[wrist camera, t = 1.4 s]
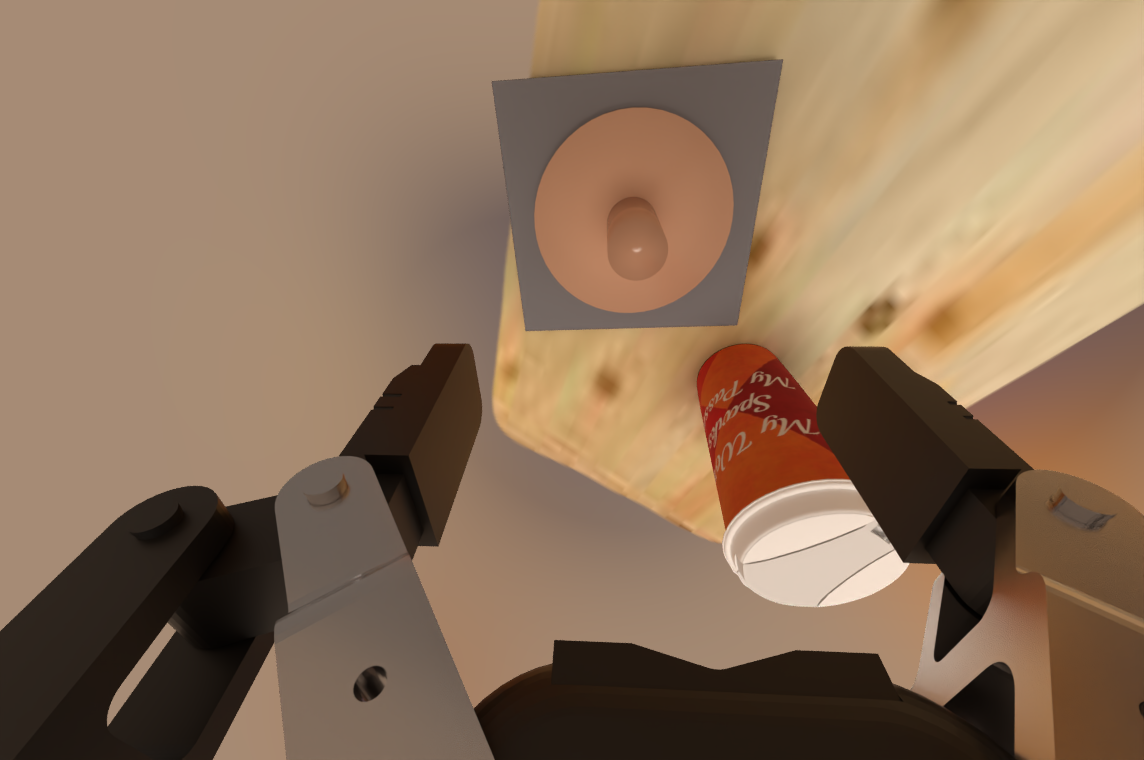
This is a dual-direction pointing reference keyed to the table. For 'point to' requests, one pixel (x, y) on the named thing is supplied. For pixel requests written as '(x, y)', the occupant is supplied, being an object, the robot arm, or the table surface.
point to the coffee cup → (786, 488)
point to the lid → (633, 210)
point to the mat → (564, 103)
